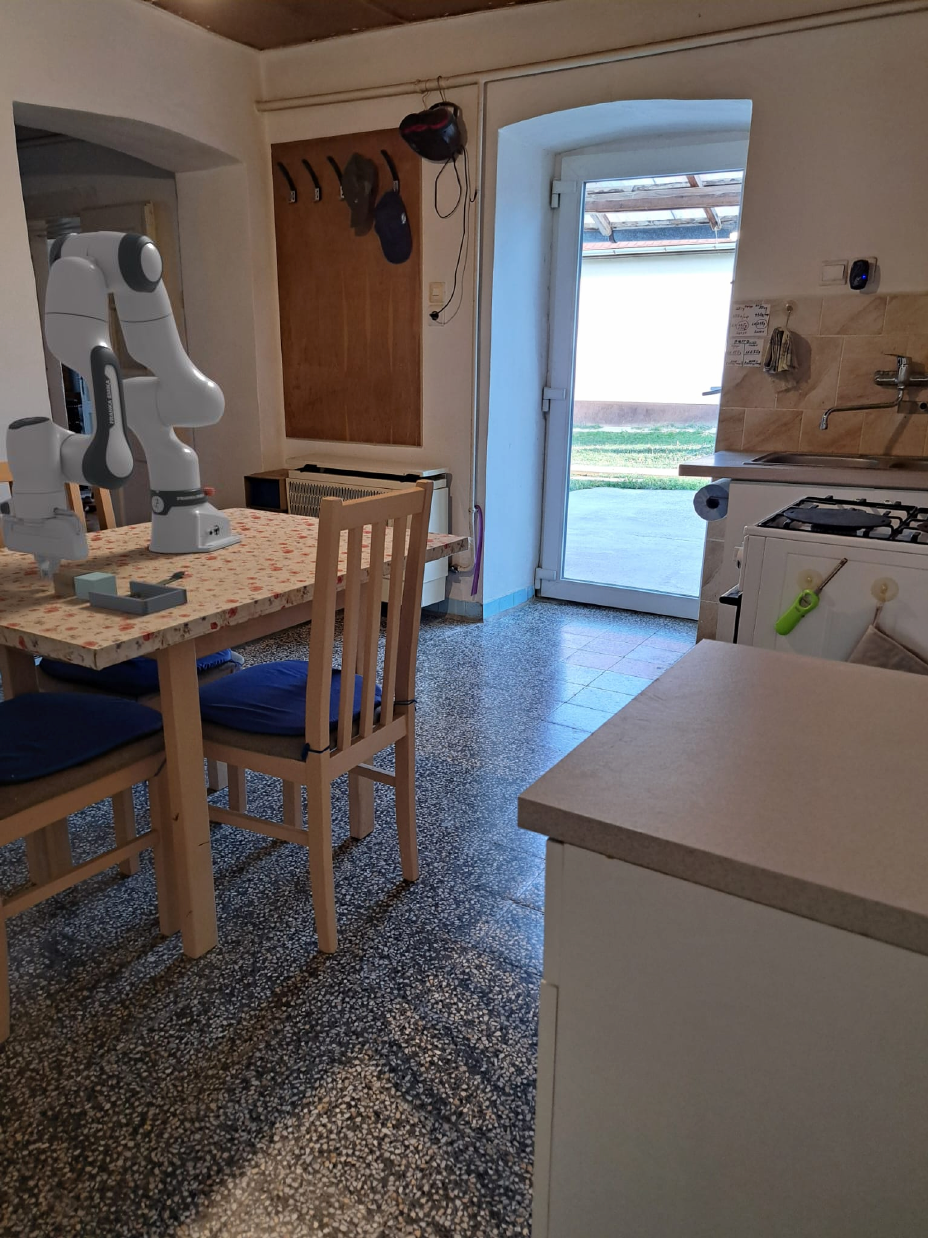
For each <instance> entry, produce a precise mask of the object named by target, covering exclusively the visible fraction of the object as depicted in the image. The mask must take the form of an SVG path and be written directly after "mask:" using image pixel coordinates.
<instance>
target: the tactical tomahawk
mask: <svg viewBox="0 0 928 1238" xmlns="http://www.w3.org/2000/svg"><path fill="white" fill-rule="evenodd" d="M185 573H186V572H185V571H182V570H181V571H177V572H175V573H173V574H171V577H170V578H167V579H165V578H164V579H162V580H160V581H158V582H156V583H155V584H158V585H164V586H167V585H170V584H172V583H173V582H176V581H178V580H180V578H181V577H183V576H185ZM166 584H167V585H166ZM128 597H130V598H136V599H141V600H144V599H143V598H141V596H140V594H139V593H136V592H135V593H133V594H129V596H128Z"/></svg>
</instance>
